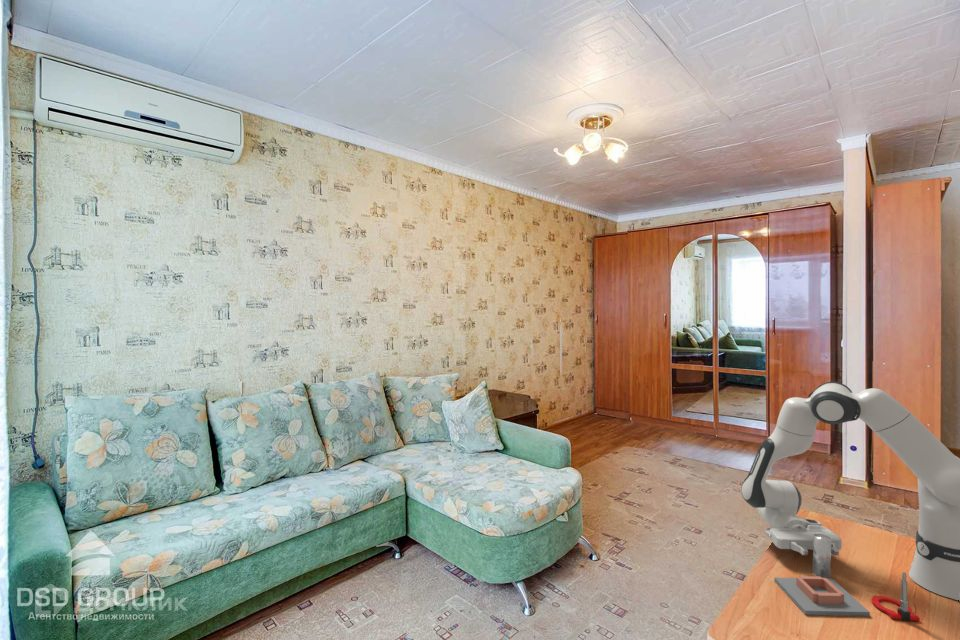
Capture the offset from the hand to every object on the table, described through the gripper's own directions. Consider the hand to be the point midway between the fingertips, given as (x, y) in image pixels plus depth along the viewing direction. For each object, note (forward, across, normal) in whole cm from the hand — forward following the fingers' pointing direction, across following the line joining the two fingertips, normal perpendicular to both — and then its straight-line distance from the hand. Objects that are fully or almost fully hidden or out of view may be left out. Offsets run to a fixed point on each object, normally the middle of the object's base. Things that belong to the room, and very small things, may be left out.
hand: (821, 553), depth 139 cm
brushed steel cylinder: (0, 0, +7) cm, 7 cm away
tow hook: (+15, +9, +7) cm, 19 cm away
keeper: (+11, -8, +6) cm, 15 cm away
